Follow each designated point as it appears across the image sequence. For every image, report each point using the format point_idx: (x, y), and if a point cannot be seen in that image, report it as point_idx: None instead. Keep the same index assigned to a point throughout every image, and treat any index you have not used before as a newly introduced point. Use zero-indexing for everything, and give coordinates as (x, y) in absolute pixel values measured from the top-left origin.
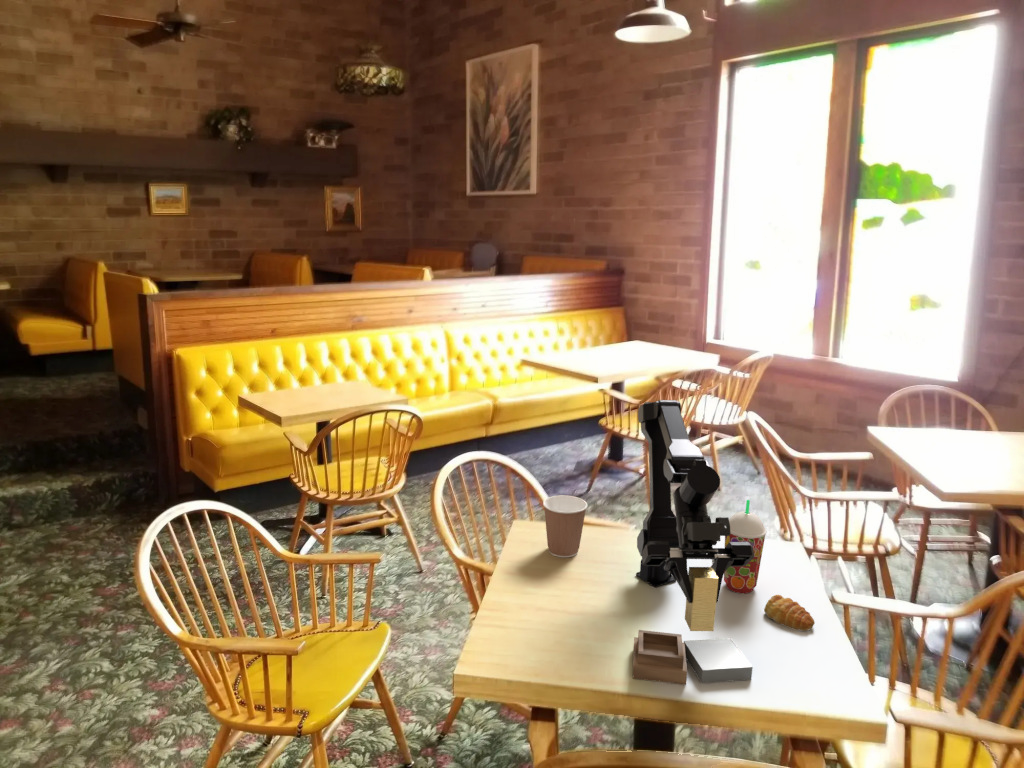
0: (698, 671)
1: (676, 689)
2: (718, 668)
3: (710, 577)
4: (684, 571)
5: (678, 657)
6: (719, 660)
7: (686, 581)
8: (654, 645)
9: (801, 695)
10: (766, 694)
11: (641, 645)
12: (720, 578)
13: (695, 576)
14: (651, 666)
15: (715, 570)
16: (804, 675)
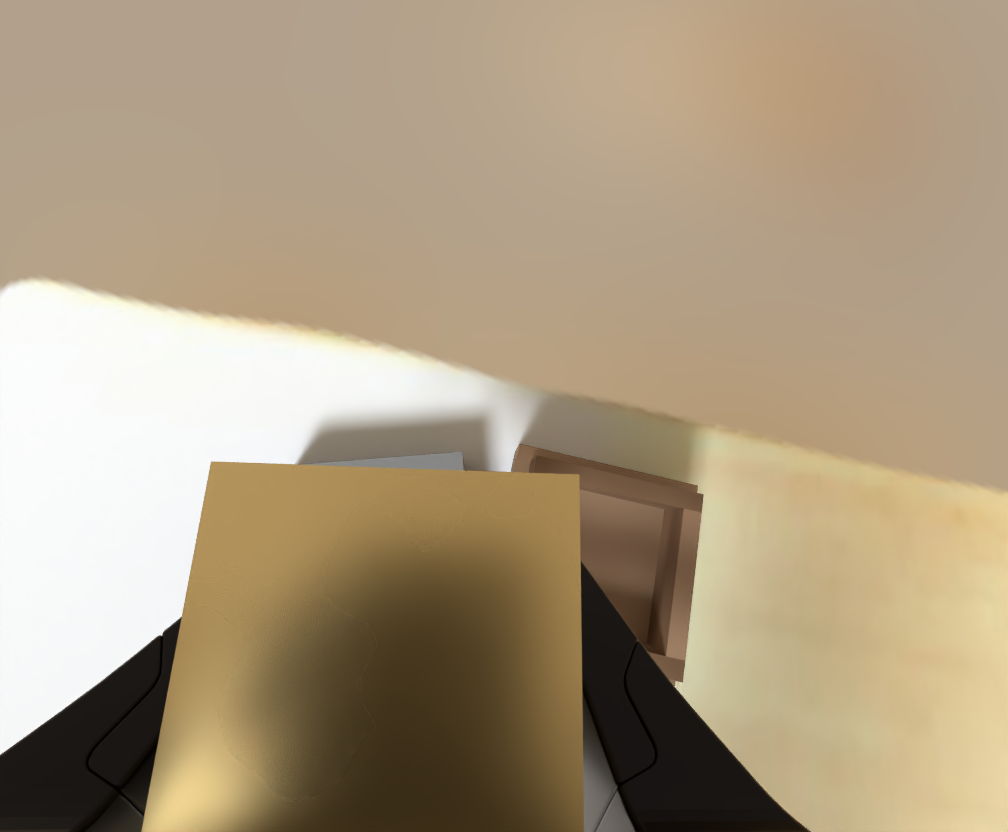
0: None
1: (550, 431)
2: (401, 460)
3: (332, 487)
4: (664, 776)
5: (555, 462)
6: None
7: (604, 641)
8: None
9: (166, 387)
10: (278, 397)
11: (686, 550)
12: (139, 668)
13: (560, 521)
14: (637, 478)
15: (110, 818)
16: (85, 491)
